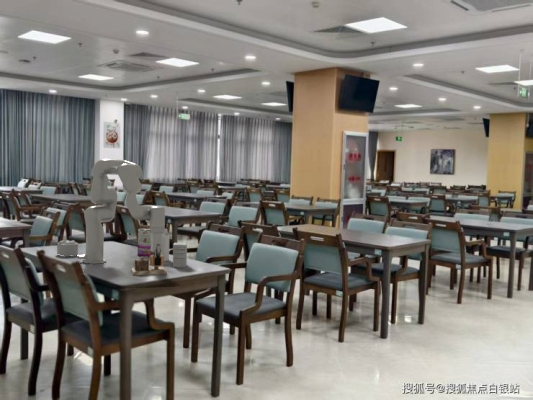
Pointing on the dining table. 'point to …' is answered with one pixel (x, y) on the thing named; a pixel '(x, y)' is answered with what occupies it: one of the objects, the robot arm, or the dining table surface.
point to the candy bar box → (144, 242)
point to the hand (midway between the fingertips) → (156, 263)
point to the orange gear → (153, 260)
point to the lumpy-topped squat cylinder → (67, 248)
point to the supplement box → (179, 254)
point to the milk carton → (165, 245)
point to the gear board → (151, 271)
